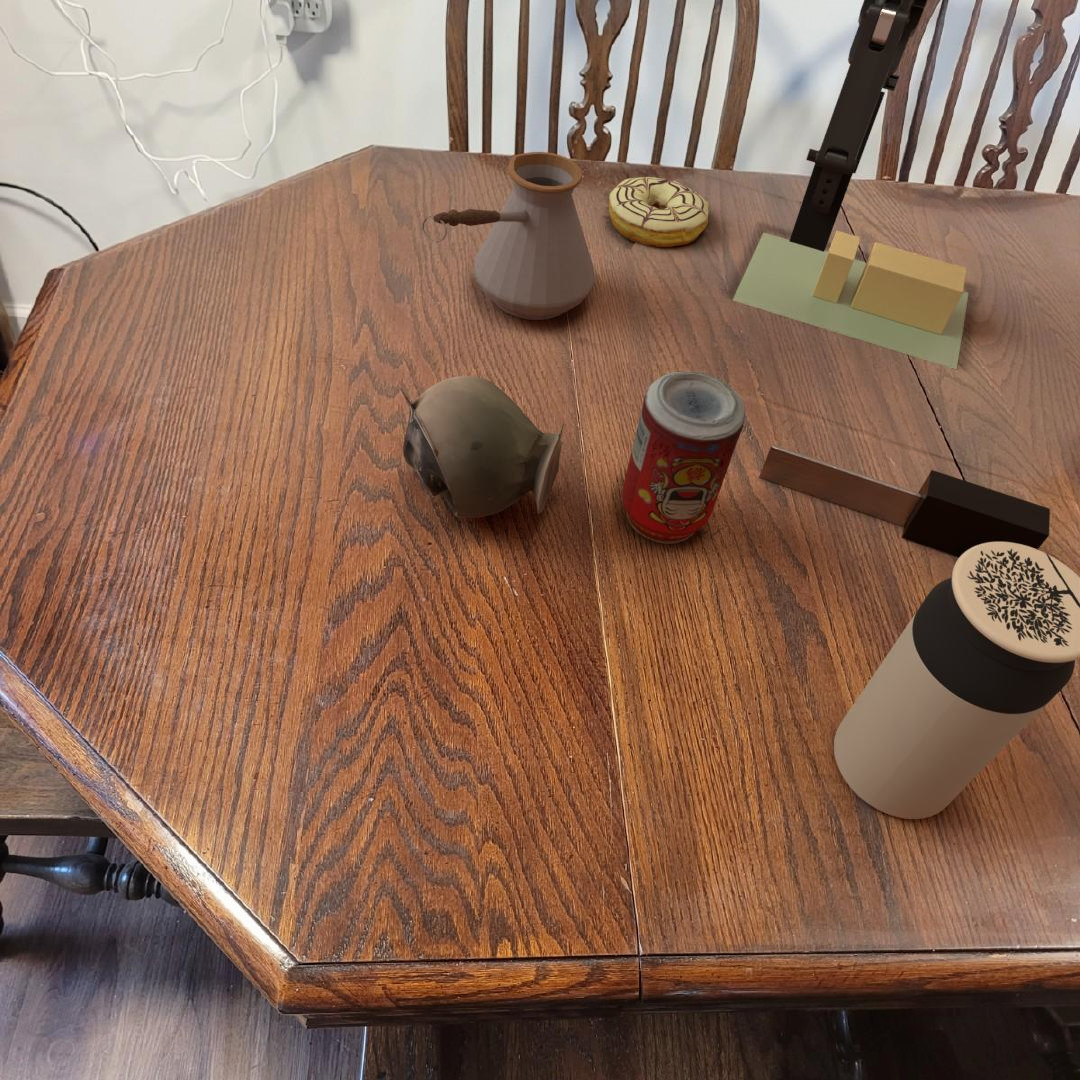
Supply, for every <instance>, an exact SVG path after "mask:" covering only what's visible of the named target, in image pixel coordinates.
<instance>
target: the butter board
mask: <svg viewBox="0 0 1080 1080" xmlns="http://www.w3.org/2000/svg"><path fill="white" fill-rule="evenodd" d="M789 241H790V239H787V238H783V237H781V236H777V235H774V234H770V233H767V232H763V233H762V235H761V236H760V239H759V241H758V243H757V246H756V247H755V250H754V252H753V254H752V257H751V258H750V261H749V263H748V265H747V267H746V270H745V271H744V274H743V276H742V278H741V280H740V283H739V285H738V287H737V289H736V291H735V293H734V295H733V298H732V301H733V302H737V303H739V304H743V305H745V306H748V307H753V308H756V309H758V310H762V311H765V312H768V313H772V314H775V315H778V316H781V317H785V318H787V319H791V320H794V321H798V322H801V323H805V324H808V325H811V326H814V327H817V328H820V329H823V330H827V331H830V332H833V333H835V334H840V335H842V336H846V337H850V338H853V339H856V340H859V341H862V342H866V343H869V344H873V345H875V346H878V347H881V348H885V349H888V350H892V351H895V352H898V353H902V354H905V355H908V356H911V357H914V358H917V359H920V360H924V361H927V362H930V363H933V364H937V365H940V366H943V367H946V368H950V369H953V370H958V363H959V358H960V354H961V353H960V352H961V345H962V340H963V334H964V333H963V332H964V328H965V327H964V326H965V320H966V314H967V307H968V300H969V292H967V291H964V290H963V293H962V295H961V297H960V299H959V301H958V303H957V305H956V307H955V309H954V311H953V313H952V315H951V317H950V319H949V320H948V322H947V324H946V326H945V328H944V330H943V332H942V334H941V335H939V334H936V333H932V332H929V331H926V330H923V329H919V328H916V327H913V326H909V325H906V324H903V323H900V322H896V321H893V320H890V319H886V318H883V317H880V316H877V315H873V314H870V313H867V312H863V311H860V310H857V309H854V308H851V304H852V301H853V298H854V294H855V291H856V288H857V285H858V282H859V280H860V277H861V275H862V272H863V270H864V268H865V265H866V263H867V261H866V262H865V261H862V260H858V259H854V261H853V264H852V266H851V269H850V271H849V274H848V276H847V279H846V281H845V284H844V286H843V289H842V291H841V294H840V296H839V299H838V301H837V303H834V302H830V301H827V300H824V299H820V298H817V297H814V296H812V295H813V292H814V289H815V287H816V284H817V281H818V278H819V275H820V273H821V270H822V267H823V265H824V262H825V259H826V257H827V254H828V251H829V250H825V251H824V252H823V251H820V250H816V249H813V248H810V247H806V246H803V245H800V244H796V243H793V242H789Z"/></svg>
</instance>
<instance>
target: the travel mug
mask: <svg viewBox="0 0 1080 1080" xmlns="http://www.w3.org/2000/svg"><path fill="white" fill-rule="evenodd" d="M951 573H952V574H951V577H949V578H946V579H944V580H942V581H940V582H939V583H937V584H936V585H935V586H933V588H932V589H931V590H930V591H929V593H928V594H927V595H926V597H925V598H924V600H923V601H922V603H921V604H920V606H919V607H918V609H917V610H916V612H915V613H914V615H913V616H912V617H911V619H910V621H909V622H908V624H907V625H906V626H905V628H904V629H903V631H902V633H901V634H900V635H899V637H898V638H897V639H896V641H895V642H894V644H893V645H892V647H891V648H890V650H889V651H888V653H887V654H886V656H885V657H884V659H883V660H882V662H881V663H880V665H879V666H878V668H877V669H876V671H875V672H874V673H873V674H872V676H871V678H870V680H869V681H868V682H867V684H866V685H865V686H864V688H863V690H862V691H861V693H860V694H859V696H858V697H857V698H856V700H855V702H854V703H853V704H852V706H851V707H850V709H849V710H848V712H847V713H846V714H845V716H844V718H843V719H842V721H841V722H840V724H839V725H838V727H837V729H836V732H835V735H834V739H833V753H834V758H835V762H836V765H837V768H838V769H839V772H840V774H841V776H842V777H843V779H844V781H845V783H846V784H847V785H848V786H849V788H850V789H851V790H852V791H853V792H854V794H856V796H858V797H859V798H860V799H861V800H863V801H864V802H865V803H867V804H868V805H870V806H871V807H873V808H874V809H876V810H878V811H879V812H882V813H885V814H887V815H890V816H892V817H896V818H900V819H906V820H919V819H925V818H930V817H933V816H935V815H937V814H939V813H940V812H942V811H943V810H944V809H946V808H947V807H948V806H949V805H950V804H951V802H953V801H954V800H955V799H956V798H957V797H958V796H959V795H960V794H961V792H963V790H965V788H966V787H967V786H968V785H969V784H970V783H971V782H972V781H973V780H975V778H976V777H977V776H978V775H979V774H980V773H981V772H983V770H985V768H986V767H987V766H988V765H989V764H990V763H991V762H992V761H993V760H994V759H995V758H996V757H997V756H998V755H999V754H1000V753H1001V752H1002V751H1003V749H1005V747H1007V745H1009V743H1010V742H1011V741H1013V740H1014V739H1015V737H1016V736H1018V735H1019V734H1020V732H1022V730H1023V729H1024V728H1025V727H1026V726H1027V725H1028V724H1030V722H1031V721H1033V719H1034V718H1035V717H1036V716H1037V715H1038V714H1039V713H1041V711H1042V710H1043V709H1044V708H1045V707H1047V705H1048V704H1049V703H1050V702H1051V701H1052V700H1053V699H1054V698H1055V697H1056V696H1057V695H1058V693H1060V692H1061V690H1062V689H1064V688H1065V686H1066V685H1067V684H1068V683H1069V682H1070V680H1071V678H1072V676H1073V674H1074V671H1075V666H1076V660H1079V659H1080V576H1079V575H1078V574H1077V573H1076V572H1075V571H1074V570H1072V569H1071V568H1070V567H1069V566H1068V565H1066V564H1065V563H1063V562H1062V561H1060V560H1059V559H1058V558H1056V557H1054V556H1052V555H1050V554H1048V553H1047V552H1044V551H1041V550H1039V549H1038V550H1037V549H1035V548H1032V547H1029V546H1025V545H1022V544H1017V543H1011V542H988V543H983V544H980V545H977V546H974V547H972V548H970V549H969V550H967V551H966V552H964V553H963V554H962V555H961V556H960V557H958V559H957V560H956V562H955V564H954V566H953V569H952V572H951Z"/></svg>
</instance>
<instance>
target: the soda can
mask: <svg viewBox="0 0 1080 1080" xmlns="http://www.w3.org/2000/svg"><path fill="white" fill-rule="evenodd" d="M639 415H640V416H639V419H638V423H637V428H636V432H635V436H634V440H633V444H632V447H631V452H630V456H629V460H628V465H627V470H626V473H625V476H624V477H625V478H624V482H623V485H622V491H621V500H622V501H621V502H622V504H623V507H624V510H625V512H626V518H627V521H628V522H629V524H630V526H631V527H632V529H634V531H635V532H636V533H637V534H639V535H640V536H642V537H644V538H645V539H648V540H650V541H652V542H656V543H659V544H670V545H671V544H678V543H680V542H681V543H682V542H684V541H686V540H688V539H689V538H692V536H693V535H694V534H695V533H696V532H697V531H700V530H701V529H702V528H704V526H705V525H706V524H707V523H708V521H709V520H710V518H711V516H712V515H713V512H714V509H715V506H716V503H717V500H718V497H719V494H720V491H721V489H722V487H723V483H724V480H725V477H726V475H727V472H728V469H729V466H730V463H731V460H732V458H733V454H734V452H735V450H736V447H737V444H738V441H739V439H740V436H741V433H742V430H743V429H744V425H745V419H746V409H745V405H744V402H743V400H742V399H741V397H740V395H739V394H738V393H737V392H736V391H735V389H734V388H733V387H731V386H730V385H729V384H727V383H725V382H724V381H723V380H721V379H718V378H717V377H714V376H711V375H708V374H706V373H703V372H698V371H676V372H670V373H667V374H664V375H662V376H660V377H658V378H657V379H655V380H654V381H653V382H652V383H650V385H649V387H648V388H647V390H646V392H645V395H644V398H643V403H642V407H641V411H640V414H639Z"/></svg>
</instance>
